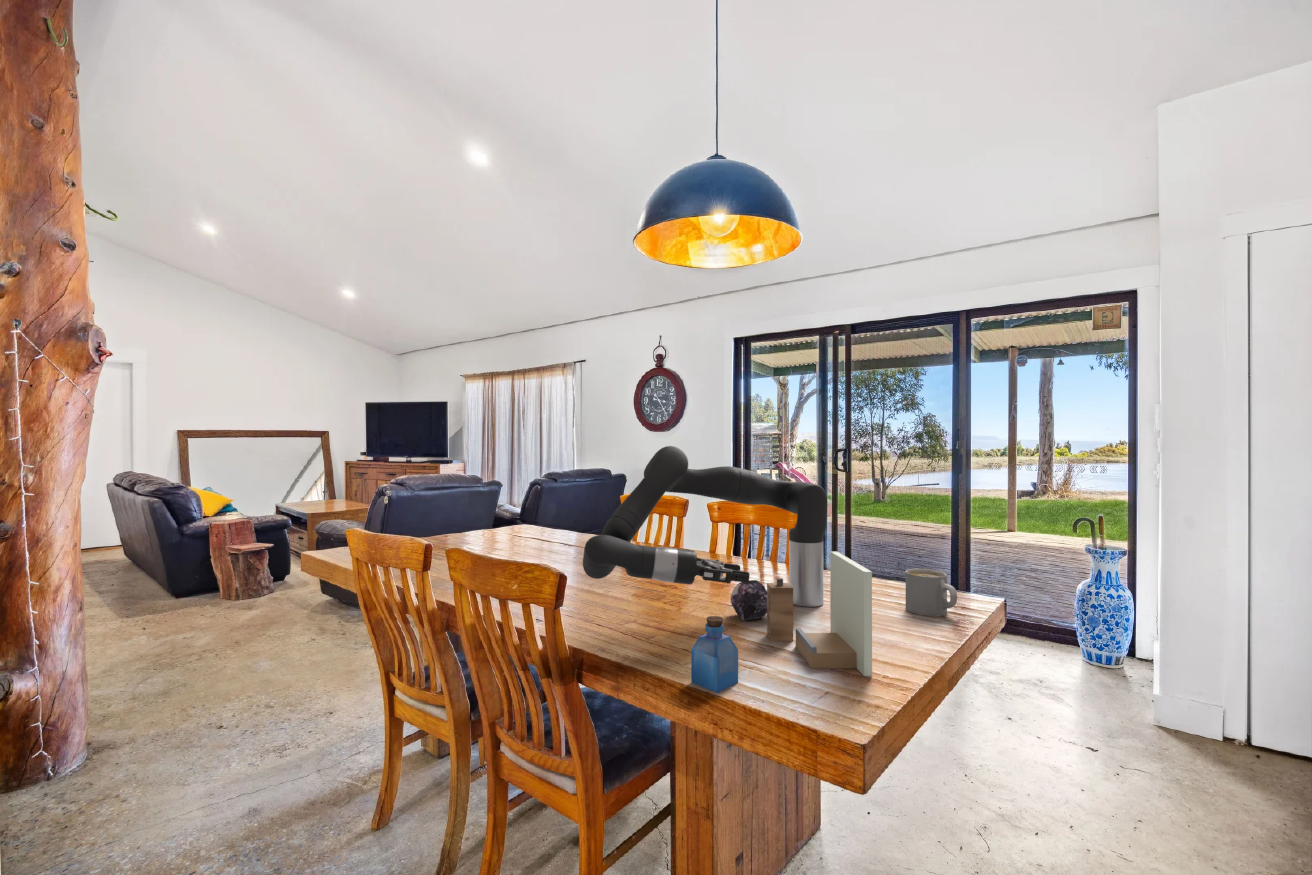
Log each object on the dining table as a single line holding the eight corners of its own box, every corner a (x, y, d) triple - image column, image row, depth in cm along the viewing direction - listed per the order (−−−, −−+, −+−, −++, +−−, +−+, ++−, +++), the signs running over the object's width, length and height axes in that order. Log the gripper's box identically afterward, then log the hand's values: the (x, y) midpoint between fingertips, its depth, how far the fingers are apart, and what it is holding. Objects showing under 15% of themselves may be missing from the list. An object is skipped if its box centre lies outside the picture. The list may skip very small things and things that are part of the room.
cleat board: (790, 640, 132) (790, 551, 132) (837, 639, 132) (836, 551, 132) (817, 676, 112) (817, 572, 112) (872, 676, 112) (871, 571, 112)
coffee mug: (897, 607, 158) (897, 570, 158) (927, 603, 161) (927, 567, 161) (934, 622, 145) (934, 581, 145) (966, 618, 148) (966, 578, 148)
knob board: (767, 634, 136) (766, 576, 136) (788, 634, 136) (788, 576, 136) (771, 641, 131) (771, 581, 131) (793, 640, 131) (793, 580, 131)
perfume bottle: (712, 673, 113) (712, 611, 114) (738, 682, 109) (738, 618, 109) (691, 682, 109) (691, 618, 109) (717, 692, 105) (716, 626, 105)
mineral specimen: (731, 602, 156) (746, 569, 154) (766, 623, 151) (782, 589, 150) (718, 610, 147) (733, 576, 146) (755, 633, 143) (771, 597, 141)
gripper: (679, 553, 123) (754, 562, 124) (671, 543, 137) (738, 551, 138) (675, 589, 122) (750, 597, 124) (667, 575, 137) (734, 583, 138)
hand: (744, 573), depth 131 cm, fingers open, 8 cm apart
